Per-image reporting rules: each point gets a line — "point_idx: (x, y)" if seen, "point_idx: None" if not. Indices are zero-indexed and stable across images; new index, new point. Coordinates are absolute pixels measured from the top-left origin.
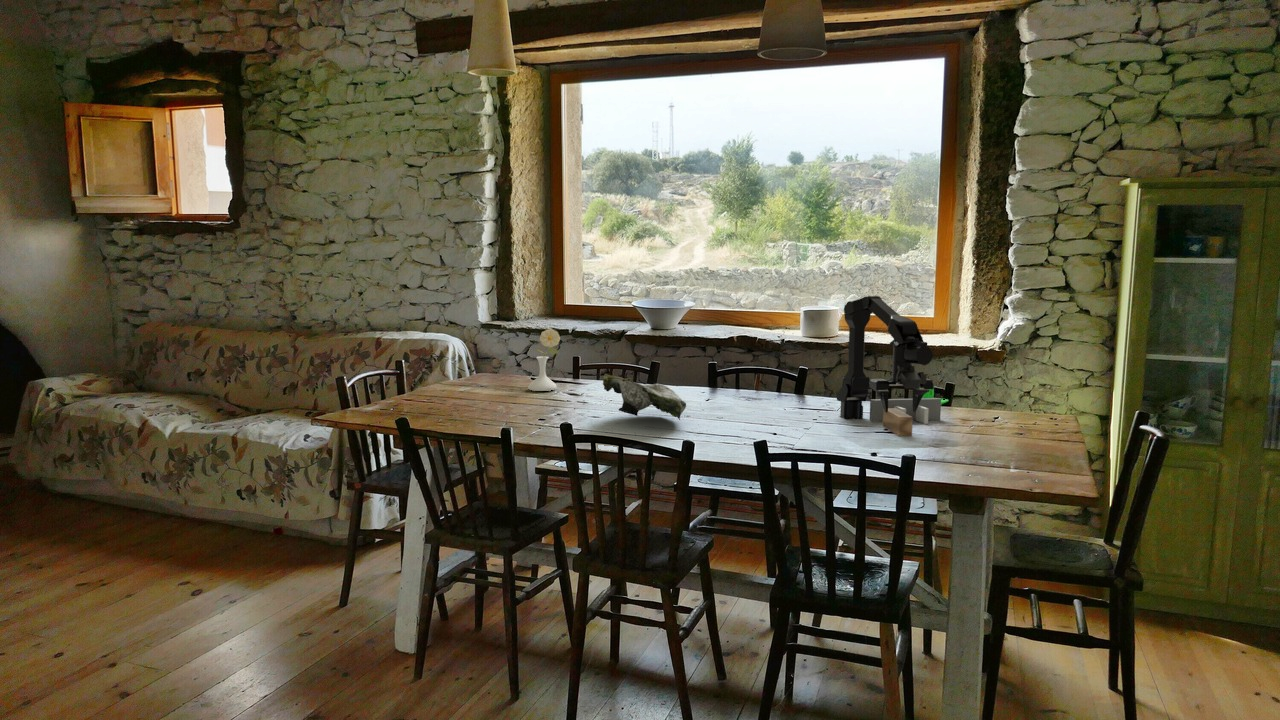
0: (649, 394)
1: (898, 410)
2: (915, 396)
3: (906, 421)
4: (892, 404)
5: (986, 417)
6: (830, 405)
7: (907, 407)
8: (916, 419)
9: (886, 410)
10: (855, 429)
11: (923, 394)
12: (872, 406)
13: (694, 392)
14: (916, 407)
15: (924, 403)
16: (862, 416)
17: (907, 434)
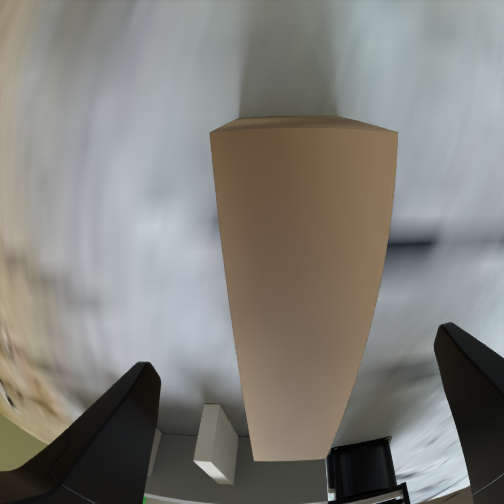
0: None
1: (260, 430)
2: (105, 497)
3: (292, 124)
4: (240, 490)
5: (23, 409)
6: (333, 497)
7: (182, 475)
8: (158, 434)
9: (460, 330)
10: (476, 304)
11: (6, 474)
12: (326, 480)
13: (465, 481)
14: (120, 388)
15: None
16: (328, 458)
17: (272, 116)
